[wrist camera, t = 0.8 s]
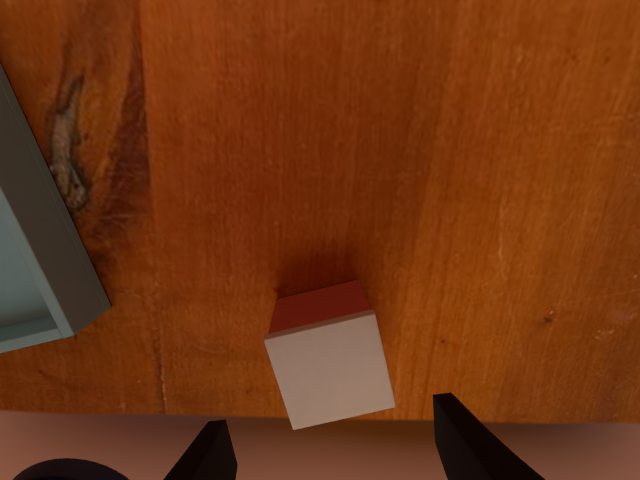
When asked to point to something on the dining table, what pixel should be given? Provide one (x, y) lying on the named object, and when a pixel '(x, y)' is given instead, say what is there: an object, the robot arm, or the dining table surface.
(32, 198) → the shallow rectangular tray
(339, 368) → the two-tone cube
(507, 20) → the dining table surface
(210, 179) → the dining table surface
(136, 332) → the dining table surface
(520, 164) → the dining table surface
